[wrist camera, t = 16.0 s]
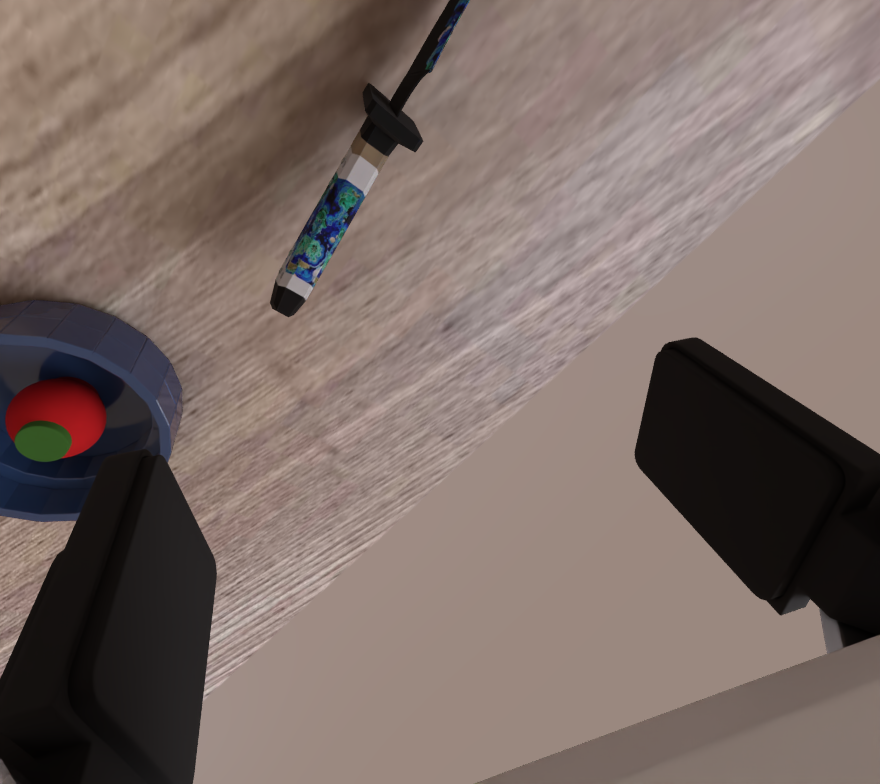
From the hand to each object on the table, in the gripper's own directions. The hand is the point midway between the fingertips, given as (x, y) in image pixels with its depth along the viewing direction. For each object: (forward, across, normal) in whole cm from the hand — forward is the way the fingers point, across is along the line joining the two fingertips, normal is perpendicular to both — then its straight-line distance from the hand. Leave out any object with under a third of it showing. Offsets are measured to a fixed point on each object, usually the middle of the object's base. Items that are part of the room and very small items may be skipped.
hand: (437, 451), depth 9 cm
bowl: (+24, +18, +10) cm, 31 cm away
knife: (+24, -6, -6) cm, 26 cm away
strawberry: (+23, +18, +10) cm, 31 cm away
